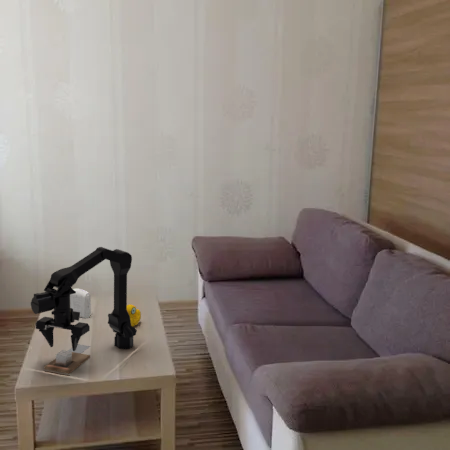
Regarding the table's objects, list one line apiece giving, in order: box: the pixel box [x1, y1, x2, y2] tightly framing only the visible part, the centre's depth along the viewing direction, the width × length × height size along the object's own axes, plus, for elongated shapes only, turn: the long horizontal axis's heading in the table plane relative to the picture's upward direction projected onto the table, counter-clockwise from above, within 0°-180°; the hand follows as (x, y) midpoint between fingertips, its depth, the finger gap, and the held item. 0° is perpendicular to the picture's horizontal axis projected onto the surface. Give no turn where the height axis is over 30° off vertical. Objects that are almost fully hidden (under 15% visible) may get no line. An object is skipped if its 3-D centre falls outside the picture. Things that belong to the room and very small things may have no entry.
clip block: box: [55, 349, 72, 368], centre depth 206 cm, size 4×4×6 cm
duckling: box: [127, 303, 142, 327], centre depth 246 cm, size 11×5×10 cm, turn 151°
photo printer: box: [70, 288, 92, 319], centre depth 257 cm, size 10×4×12 cm, turn 60°
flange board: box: [43, 352, 91, 377], centre depth 208 cm, size 10×14×2 cm
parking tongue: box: [67, 343, 92, 354], centre depth 221 cm, size 6×8×1 cm
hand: (63, 348), depth 205 cm, fingers open, 9 cm apart
